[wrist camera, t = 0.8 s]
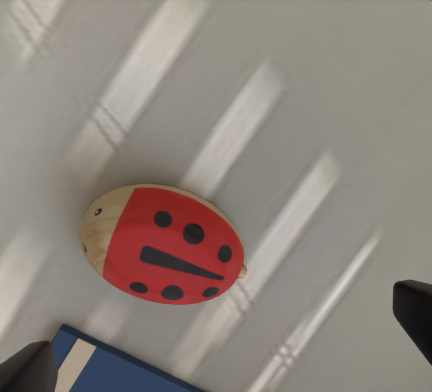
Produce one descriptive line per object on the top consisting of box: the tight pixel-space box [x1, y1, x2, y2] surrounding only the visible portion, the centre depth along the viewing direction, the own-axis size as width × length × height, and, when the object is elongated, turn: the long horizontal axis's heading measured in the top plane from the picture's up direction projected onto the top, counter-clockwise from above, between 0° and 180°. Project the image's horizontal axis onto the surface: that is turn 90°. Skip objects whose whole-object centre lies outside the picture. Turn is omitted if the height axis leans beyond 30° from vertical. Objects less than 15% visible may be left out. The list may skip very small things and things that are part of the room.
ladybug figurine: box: [80, 184, 247, 305], centre depth 18 cm, size 7×10×4 cm
